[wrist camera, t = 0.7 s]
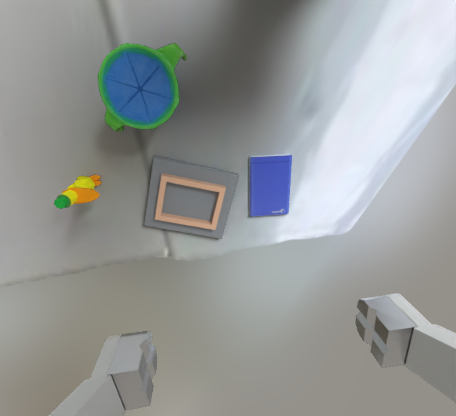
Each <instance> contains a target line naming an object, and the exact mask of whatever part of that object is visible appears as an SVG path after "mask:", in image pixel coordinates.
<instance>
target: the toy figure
mask: <svg viewBox="0 0 456 416" xmlns="http://www.w3.org/2000/svg"><path fill="white" fill-rule="evenodd" d="M77 179H78V180H76V181H75V183H73V184H72V185H70V186H69V187H67V188H69V189H67V190H65V191H62V194H61V195H59V196H58V197H57V199H56V200H55V202H54V204H55V205H56V207H57V208H60V209H62V208H67V207H69V206H70V205H72V204H78V203H86V202H90V201H93V200H95V199H97V198H98V197H99V193H98V192H96V191H95V190H94V187H95V186H97V185H100V184H101V181H98V179H100V176H98V175H94V176H90V177H89V178H88V177H87V176H79V177H77ZM93 180H94V181H93Z"/></svg>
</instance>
